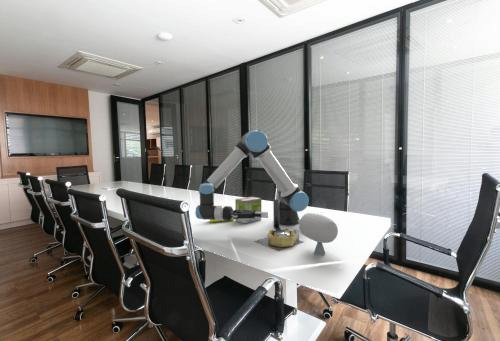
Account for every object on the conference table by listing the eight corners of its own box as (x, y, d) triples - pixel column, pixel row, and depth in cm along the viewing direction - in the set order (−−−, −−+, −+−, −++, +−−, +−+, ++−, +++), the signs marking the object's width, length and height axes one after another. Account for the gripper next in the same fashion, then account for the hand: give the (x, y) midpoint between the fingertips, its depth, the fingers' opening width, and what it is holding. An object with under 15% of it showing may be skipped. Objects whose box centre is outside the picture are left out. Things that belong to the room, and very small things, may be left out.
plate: (253, 243, 125) (253, 231, 125) (279, 235, 137) (279, 224, 136) (278, 253, 112) (278, 240, 112) (304, 243, 124) (304, 231, 123)
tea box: (244, 224, 160) (244, 200, 159) (235, 221, 168) (234, 198, 167) (262, 219, 170) (261, 197, 169) (252, 217, 178) (251, 196, 177)
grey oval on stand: (327, 244, 122) (327, 208, 120) (341, 262, 102) (341, 219, 101) (295, 245, 122) (295, 209, 121) (303, 262, 102) (303, 220, 101)
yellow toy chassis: (233, 219, 173) (232, 207, 173) (234, 221, 168) (234, 208, 167) (209, 221, 169) (209, 208, 168) (210, 223, 163) (210, 210, 163)
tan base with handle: (299, 245, 118) (299, 204, 117) (273, 247, 115) (273, 206, 114) (286, 234, 134) (286, 198, 132) (263, 236, 131) (263, 199, 130)
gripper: (228, 217, 143) (269, 219, 137) (220, 223, 130) (265, 225, 125) (227, 203, 142) (269, 205, 137) (219, 208, 130) (265, 210, 124)
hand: (267, 215), depth 131 cm, fingers closed
